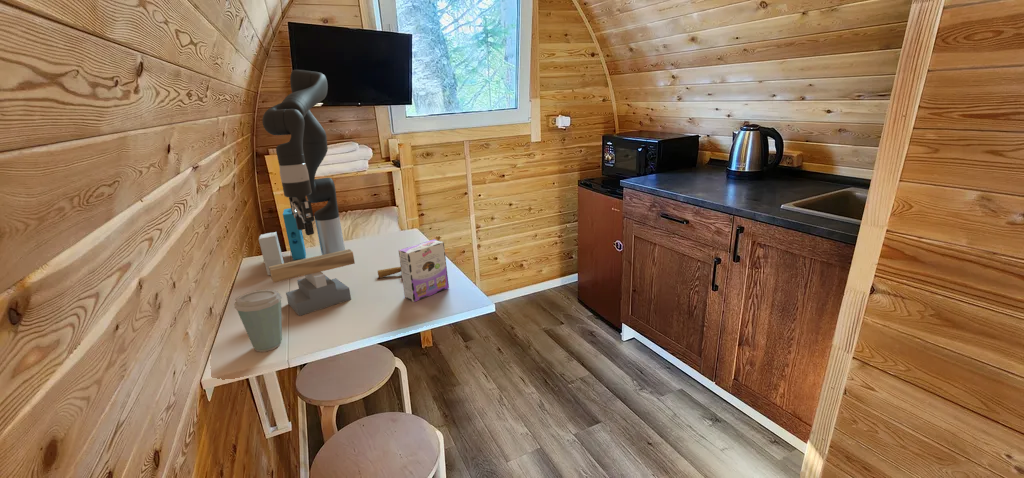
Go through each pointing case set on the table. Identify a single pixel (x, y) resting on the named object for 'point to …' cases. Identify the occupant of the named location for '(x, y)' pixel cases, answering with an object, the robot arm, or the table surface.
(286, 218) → the block
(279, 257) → the skincare box
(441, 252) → the candy box
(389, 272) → the kendama
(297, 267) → the oak beam
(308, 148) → the robot arm
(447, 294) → the table surface
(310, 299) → the ridge stand
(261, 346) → the disposable coffee cup
